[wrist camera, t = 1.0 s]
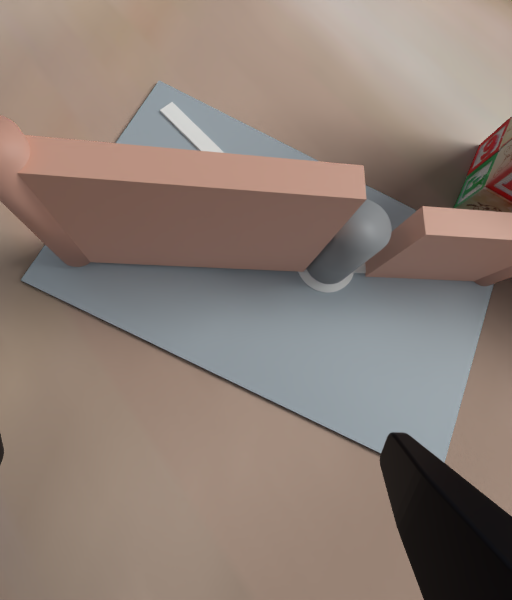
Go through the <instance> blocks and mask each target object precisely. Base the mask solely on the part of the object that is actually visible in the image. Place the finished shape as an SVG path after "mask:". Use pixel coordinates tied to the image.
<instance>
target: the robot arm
mask: <svg viewBox="0 0 512 600" xmlns="http://www.w3.org/2000/svg"><path fill="white" fill-rule="evenodd" d="M3 455H4V448H3V443H2V439H1V434H0V464H1V462H2V459H3ZM380 466H381V470H382V473H383V477H384V481H385V485H386V488H387V492H388V496H389V499H390V503H391V507H392V511H393V514H394V518H395V521H396V525H397V528H398V531H399V534H400V537H401V540H402V542H403V545H404V548H405V550H406V553H407V556H408V558H409V561H410V564H411V566H412V569H413V572H414V574H415V577H416V580H417V582H418V585H419V588H420V590H421V593H422V596H423V598H424V600H512V516H510V515H509V514H508V513H507V512H505V511H504V510H503V509H502V508H500V507H499V506H498V505H497V504H495V503H494V502H493V501H492V500H490V499H489V498H488V497H486V496H485V495H484V494H483V493H481V492H480V491H479V490H478V489H476V488H475V487H474V486H473V485H471V484H470V483H469V482H468V481H466V480H465V479H464V478H463V477H461V476H460V475H459V474H458V473H456V472H455V471H454V470H453V469H451V468H450V467H449V466H448V465H446V464H445V463H444V462H443V461H441V460H440V459H439V458H438V457H436V456H435V455H434V454H433V453H431V452H430V451H429V450H428V449H426V448H425V447H424V446H423V445H421V444H420V443H419V442H418V441H416V440H415V439H414V438H412V437H411V436H410V435H409V434H407V433H403V432H391V433H390V434H389V435H388V436H387V439H386V441H385V444H384V447H383V449H382V452H381V455H380Z"/></svg>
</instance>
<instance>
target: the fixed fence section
mask: <svg viewBox="0 0 512 600" xmlns="http://www.w3.org/2000/svg"><path fill="white" fill-rule="evenodd" d="M365 264H366V273H365V277H385V278H408V279H431V280H454V281H474V282H475V283H476V284H478V285H480V286H489V285H492V284H495V283H497V282H500V281H503V280H505V279H508V278H511V277H512V213H509V212H495V211H482V210H468V209H455V208H442V207H428V206H422V207H421V208H420V209H418V210H417V211H416V212H415V213H414V214H412V215H411V216H410V217H409V218H408V219H406V220H405V221H404V222H403V223H402V224H400V225H399V226H398V227H397V228H396V229H394V230H393V231H392V232H391V237H390V240H389V242H388V244H387V245H386V246H385V247H384V248H383V249H382V250H380V251H379V252H378V253H377V254H375V255H374V256H373V257H371V258H370V259H369V260H368V261H366V262H365Z"/></svg>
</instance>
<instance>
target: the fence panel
mask: <svg viewBox="0 0 512 600" xmlns="http://www.w3.org/2000/svg"><path fill="white" fill-rule="evenodd" d="M0 201H1V202H2V203H3V204H4V205H5V206H6V207H7V208H8V209H9V210H10V211H11V212H12V213H13V214H14V215H15V216H16V217H17V218H18V219H20V220H21V221H22V222H23V223H24V224H25V225H26V226H27V227H28V228H29V229H30V230H31V231H32V232H33V233H34V234H35V235H36V236H37V237H38V238H39V239H40V240H41V241H42V242H43V243H44V244H45V245H46V246H47V247H48V248H49V249H50V250H51V251H52V252H53V253H55V254H56V255H57V256H58V257H59V258H60V259H61V260H62V261H63V262H64V263H65V264H67V265H69V266H72V267H81V266H85V265H87V264H89V263H90V262H95V263H118V264H140V265H163V266H185V267H207V268H230V269H252V270H275V271H297V272H304V271H305V269H307V271H308V272H309V274H310V275H311V276H312V277H313V278H314V279H315V280H317V281H318V282H321V283H324V284H335V283H338V282H340V281H342V280H343V279H344V278H346V277H347V276H348V275H350V274H351V273H352V272H353V271H355V270H356V269H357V268H359V267H360V266H361V265H362V264H364V263H365V262H366V261H368V260H369V259H370V258H371V257H373V256H374V255H375V254H377V253H378V252H379V251H380V250H382V249H383V248H384V247H385V246H386V245H387V244H388V242H389V240H390V237H391V232H392V227H391V222H390V219H389V217H388V215H387V213H386V212H385V211H384V210H383V209H382V207H380V206H379V205H378V204H376V203H375V202H373V201H371V200H368V199H367V198H366V186H365V174H364V165H354V164H343V163H331V162H320V161H309V160H298V159H287V158H276V157H264V156H253V155H242V154H231V153H220V152H209V151H197V150H186V149H175V148H164V147H153V146H142V145H130V144H119V143H108V142H97V141H86V140H75V139H63V138H52V137H41V136H30V135H24V134H23V133H22V131H21V130H20V128H19V127H18V126H17V125H16V124H15V123H14V122H13V121H12V120H10V119H8V118H7V117H4V116H1V115H0Z"/></svg>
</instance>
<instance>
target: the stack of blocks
mask: <svg viewBox="0 0 512 600" xmlns="http://www.w3.org/2000/svg"><path fill="white" fill-rule="evenodd" d="M454 208H455V209H468V210H482V211H495V212H509V213H512V117H510V118H509V119H508V120H507V121H506V122H505V123H503V124H502V125H501V126H500V127H499V128H498V129H497V130H496V131H495V132H494V133H492V134H491V135H490V136H489V137H488V138H487V139H485V140H484V141H483V142H482V143H481V144H480V145H479V147H478V150H477V152H476V154H475V157H474V159H473V162H472V164H471V166H470V169H469V171H468V174H467V178H466V180H465V183H464V185H463V187H462V190H461V192H460V194H459V197H458V199H457V202H456V204H455V206H454Z"/></svg>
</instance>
